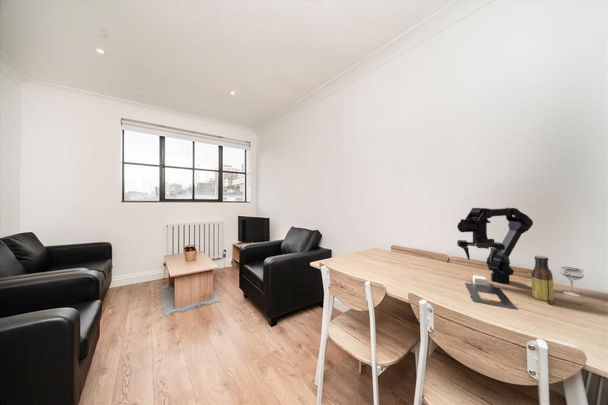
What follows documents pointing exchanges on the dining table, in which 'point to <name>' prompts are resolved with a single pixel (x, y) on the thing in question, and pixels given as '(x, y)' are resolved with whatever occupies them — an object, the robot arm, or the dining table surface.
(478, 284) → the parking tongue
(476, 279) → the clip block
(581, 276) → the wineglass
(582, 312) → the dining table surface
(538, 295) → the sauce bottle
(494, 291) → the plate
